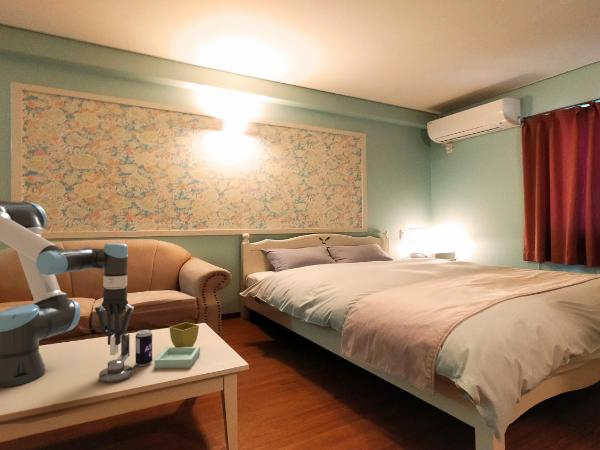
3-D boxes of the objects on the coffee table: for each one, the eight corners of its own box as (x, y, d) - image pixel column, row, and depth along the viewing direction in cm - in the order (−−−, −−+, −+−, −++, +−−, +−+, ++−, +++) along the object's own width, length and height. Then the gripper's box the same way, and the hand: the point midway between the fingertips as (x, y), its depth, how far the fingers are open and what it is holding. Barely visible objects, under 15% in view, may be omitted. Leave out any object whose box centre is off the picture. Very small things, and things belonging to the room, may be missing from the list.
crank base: (92, 383, 113) (92, 376, 113) (108, 371, 123) (108, 364, 123) (124, 383, 114) (124, 376, 114) (137, 370, 124) (137, 364, 124)
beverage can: (145, 367, 127) (145, 334, 127) (132, 366, 128) (132, 333, 128) (155, 361, 132) (155, 329, 132) (142, 360, 133) (142, 328, 133)
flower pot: (199, 346, 149) (199, 325, 149) (182, 352, 141) (182, 330, 141) (185, 342, 153) (185, 322, 153) (168, 348, 146) (168, 327, 146)
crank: (121, 373, 117) (121, 346, 117) (105, 374, 116) (105, 347, 116) (133, 356, 131) (133, 332, 131) (119, 357, 130) (119, 333, 130)
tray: (154, 368, 126) (154, 360, 126) (166, 355, 139) (166, 347, 139) (191, 367, 126) (191, 359, 126) (199, 354, 139) (199, 346, 139)
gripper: (90, 288, 120) (89, 357, 120) (129, 289, 120) (128, 358, 120) (102, 284, 127) (100, 349, 127) (138, 285, 128) (137, 350, 128)
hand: (114, 353), depth 124 cm, fingers closed
